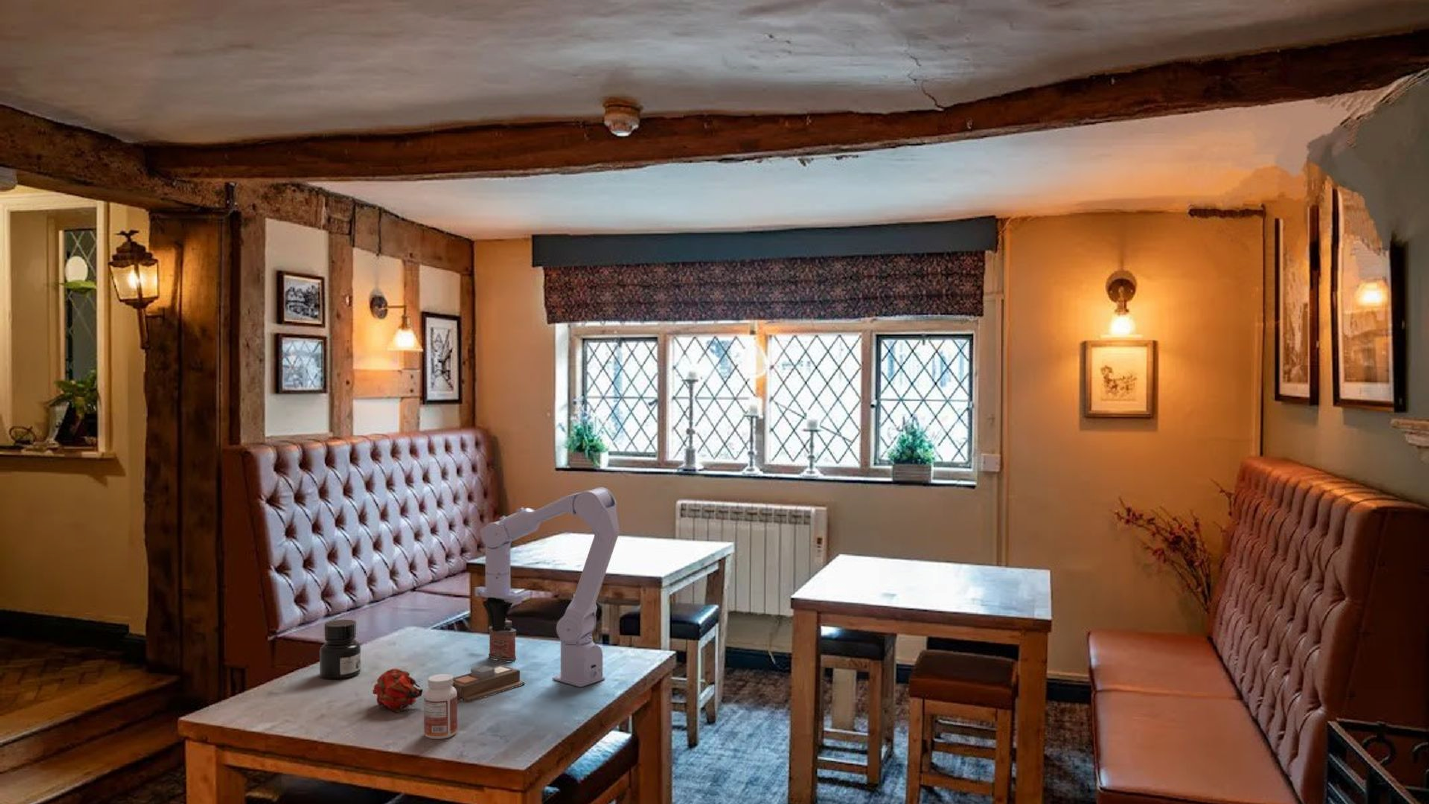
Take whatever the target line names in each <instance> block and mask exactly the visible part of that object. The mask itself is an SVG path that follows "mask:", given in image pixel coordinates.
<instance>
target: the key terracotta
mask: <svg viewBox="0 0 1429 804" xmlns="http://www.w3.org/2000/svg"><path fill="white" fill-rule="evenodd" d="M454 681H455V682H458V683H461V684H465V685H466V684H469V683H473V682H476V681H478V679H477V678H474V677H470V676H465V677H462V678H458V679H455V680H454Z"/></svg>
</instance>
